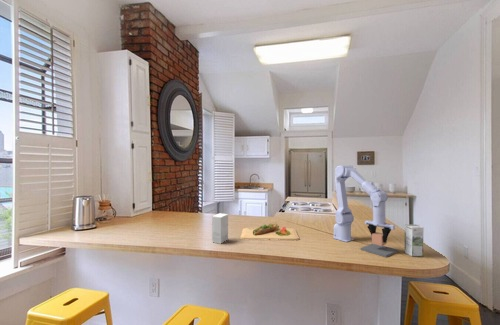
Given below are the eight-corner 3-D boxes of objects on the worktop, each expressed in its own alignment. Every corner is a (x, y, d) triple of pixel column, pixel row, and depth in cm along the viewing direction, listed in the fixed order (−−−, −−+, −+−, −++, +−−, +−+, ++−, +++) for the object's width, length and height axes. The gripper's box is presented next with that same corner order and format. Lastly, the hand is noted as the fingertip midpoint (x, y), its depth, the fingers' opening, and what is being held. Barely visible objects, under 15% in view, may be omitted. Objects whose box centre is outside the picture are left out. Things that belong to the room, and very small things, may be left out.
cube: (371, 243, 130) (371, 233, 130) (376, 241, 133) (376, 232, 133) (381, 246, 126) (381, 236, 126) (386, 244, 129) (386, 234, 129)
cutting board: (294, 230, 171) (294, 219, 171) (299, 241, 147) (299, 228, 147) (243, 230, 173) (243, 219, 173) (240, 240, 149) (240, 228, 149)
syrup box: (415, 252, 127) (415, 223, 127) (423, 256, 121) (423, 226, 121) (404, 252, 127) (404, 224, 127) (412, 257, 121) (412, 226, 121)
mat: (360, 249, 131) (360, 248, 131) (373, 245, 139) (373, 243, 139) (386, 257, 121) (386, 255, 121) (398, 251, 128) (398, 249, 128)
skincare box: (219, 238, 151) (219, 213, 151) (229, 240, 148) (228, 213, 148) (211, 242, 144) (211, 215, 144) (221, 244, 141) (221, 216, 141)
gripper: (361, 213, 133) (361, 238, 133) (390, 217, 122) (390, 245, 122) (368, 211, 137) (368, 236, 137) (396, 216, 126) (396, 243, 126)
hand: (379, 240), depth 130 cm, fingers closed on cube, 5 cm apart
